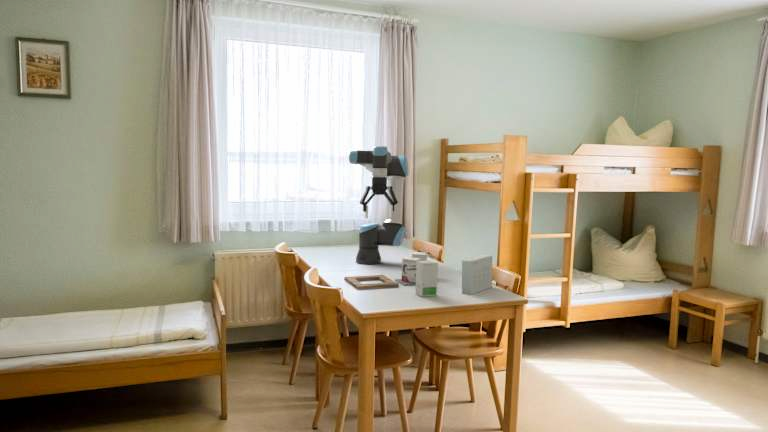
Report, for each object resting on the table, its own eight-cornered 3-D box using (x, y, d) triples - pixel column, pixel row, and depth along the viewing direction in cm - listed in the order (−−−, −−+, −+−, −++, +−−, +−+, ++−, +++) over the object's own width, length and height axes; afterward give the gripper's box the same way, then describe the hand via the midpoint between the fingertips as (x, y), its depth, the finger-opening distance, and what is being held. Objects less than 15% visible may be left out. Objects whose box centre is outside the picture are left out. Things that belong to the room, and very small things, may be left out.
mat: (394, 280, 275) (394, 279, 275) (416, 279, 280) (416, 277, 280) (403, 285, 264) (403, 284, 264) (425, 284, 268) (425, 283, 268)
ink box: (400, 281, 271) (401, 258, 270) (404, 279, 276) (404, 256, 275) (417, 282, 268) (418, 259, 267) (420, 281, 273) (420, 258, 271)
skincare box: (421, 297, 243) (422, 263, 241) (414, 293, 249) (415, 260, 247) (437, 295, 246) (438, 262, 245) (430, 292, 252) (431, 259, 251)
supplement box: (425, 278, 281) (425, 254, 280) (411, 277, 283) (411, 253, 281) (426, 275, 289) (427, 252, 287) (413, 274, 290) (413, 251, 289)
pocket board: (344, 279, 274) (344, 277, 273) (383, 277, 281) (383, 274, 281) (357, 289, 254) (357, 286, 254) (398, 286, 262) (398, 283, 261)
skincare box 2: (482, 285, 269) (483, 254, 268) (492, 287, 266) (493, 255, 264) (460, 292, 253) (461, 259, 251) (470, 295, 250) (471, 261, 248)
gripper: (358, 176, 267) (358, 219, 270) (404, 177, 276) (403, 218, 279) (354, 176, 274) (353, 217, 277) (398, 176, 283) (397, 216, 286)
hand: (378, 217), depth 278 cm, fingers open, 13 cm apart
